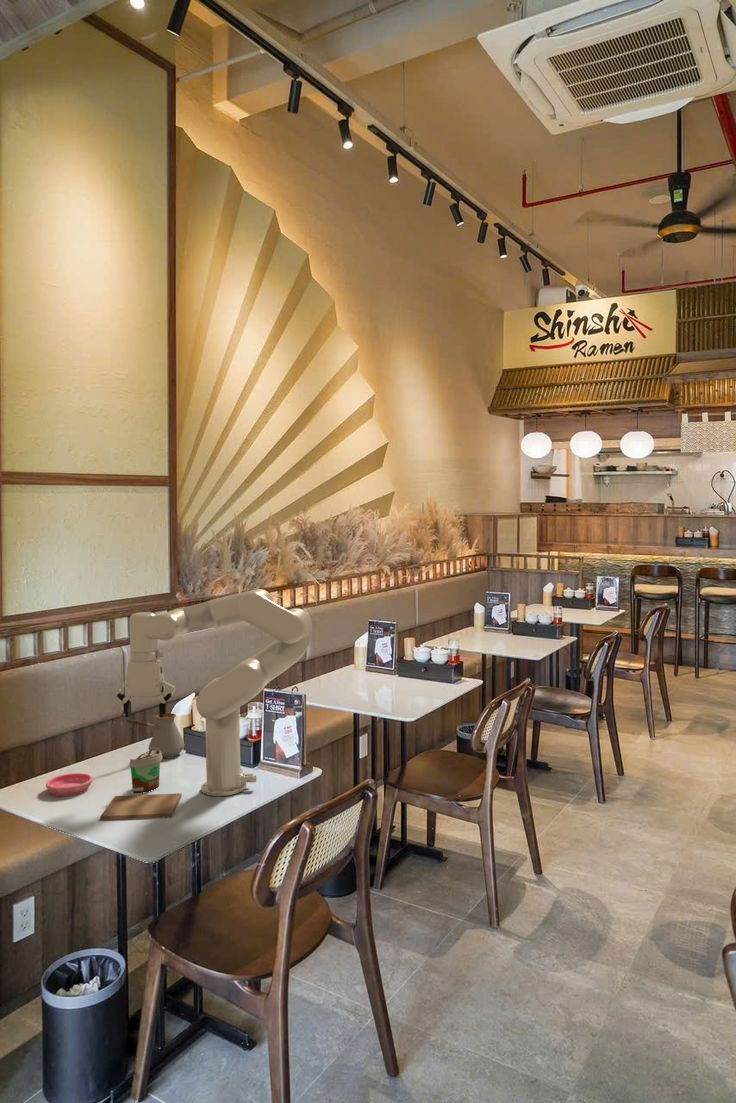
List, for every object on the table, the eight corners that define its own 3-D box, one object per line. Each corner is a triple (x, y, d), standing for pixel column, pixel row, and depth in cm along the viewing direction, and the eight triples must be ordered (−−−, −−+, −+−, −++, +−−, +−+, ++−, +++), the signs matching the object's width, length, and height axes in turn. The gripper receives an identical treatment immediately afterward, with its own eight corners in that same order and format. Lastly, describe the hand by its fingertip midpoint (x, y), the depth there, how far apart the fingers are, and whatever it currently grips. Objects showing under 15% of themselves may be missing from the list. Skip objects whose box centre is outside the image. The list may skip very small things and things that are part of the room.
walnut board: (181, 796, 208) (181, 793, 208) (171, 817, 195) (171, 813, 194) (115, 799, 207) (114, 795, 207) (100, 820, 193) (100, 816, 193)
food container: (150, 796, 209) (149, 761, 209) (130, 795, 210) (129, 759, 210) (170, 781, 221) (169, 747, 221) (151, 779, 222) (150, 746, 222)
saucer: (78, 780, 224) (78, 769, 224) (101, 789, 216) (101, 778, 216) (37, 792, 214) (37, 781, 214) (60, 802, 207) (59, 790, 206)
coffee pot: (172, 746, 254) (170, 702, 253) (192, 753, 246) (190, 708, 246) (113, 763, 238) (112, 716, 238) (133, 771, 231) (132, 722, 230)
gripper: (178, 654, 217) (179, 712, 218) (118, 654, 217) (119, 712, 218) (171, 659, 210) (172, 719, 210) (109, 659, 210) (110, 719, 211)
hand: (145, 716), depth 214 cm, fingers open, 9 cm apart
